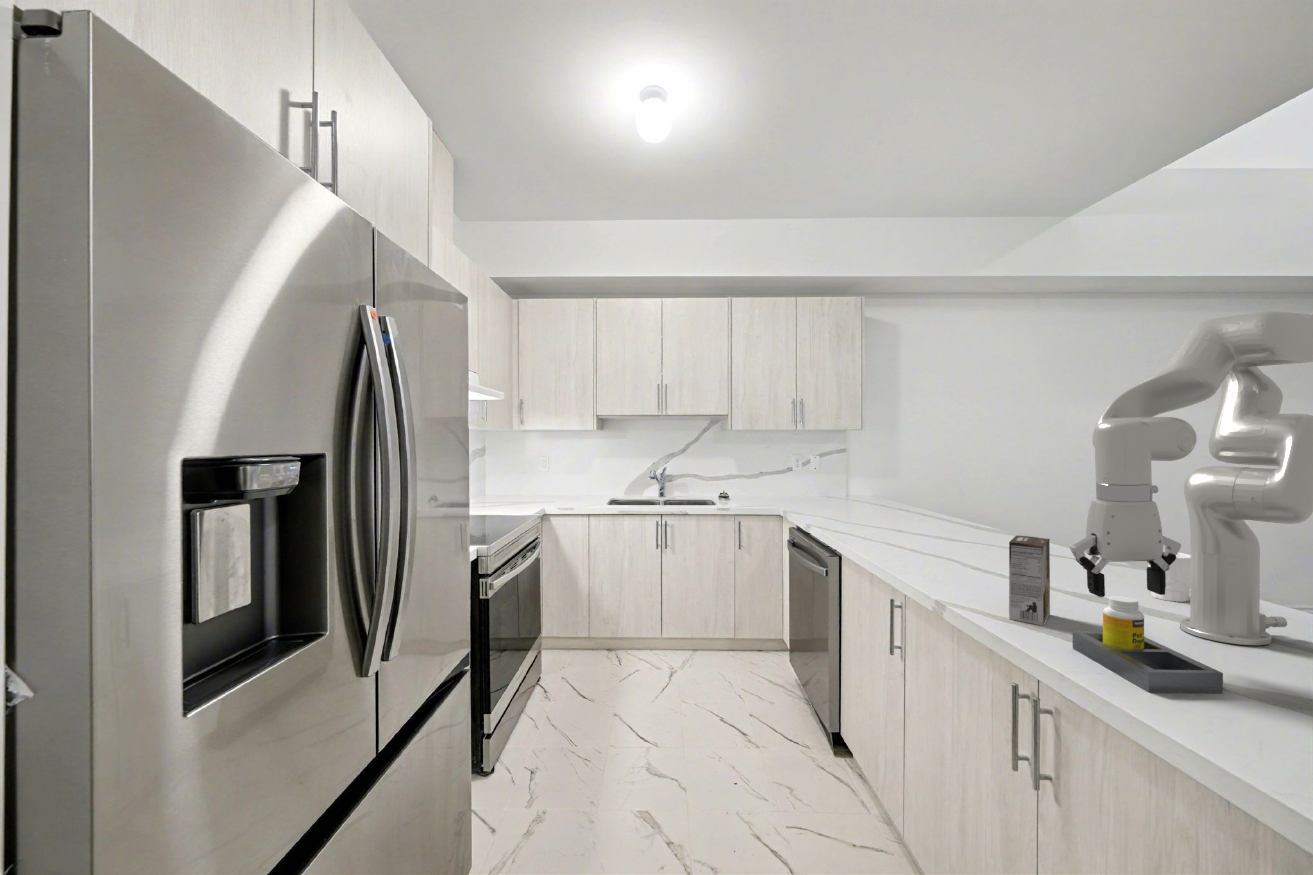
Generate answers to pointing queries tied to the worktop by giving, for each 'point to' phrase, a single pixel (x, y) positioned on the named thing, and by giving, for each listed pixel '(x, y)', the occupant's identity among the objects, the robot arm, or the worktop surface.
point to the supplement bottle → (1123, 624)
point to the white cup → (1177, 580)
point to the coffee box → (1029, 579)
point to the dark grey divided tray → (1151, 666)
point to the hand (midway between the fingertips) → (1126, 593)
